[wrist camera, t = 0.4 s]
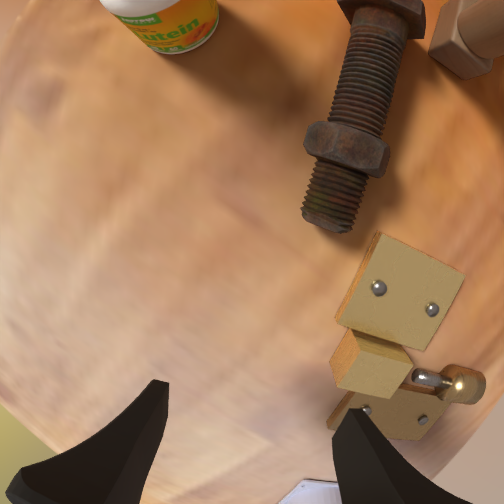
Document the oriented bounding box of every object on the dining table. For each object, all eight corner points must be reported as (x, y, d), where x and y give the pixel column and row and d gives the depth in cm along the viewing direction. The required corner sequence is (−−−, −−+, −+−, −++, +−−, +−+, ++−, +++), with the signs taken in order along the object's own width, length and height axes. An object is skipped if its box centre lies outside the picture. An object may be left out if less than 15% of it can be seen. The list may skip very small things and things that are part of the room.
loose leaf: (396, 379, 22) (408, 402, 19) (312, 356, 22) (318, 382, 19) (459, 271, 20) (481, 286, 17) (377, 230, 19) (395, 242, 16)
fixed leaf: (421, 434, 25) (431, 455, 22) (326, 421, 24) (331, 447, 21) (475, 365, 22) (491, 384, 19) (383, 337, 21) (398, 360, 18)
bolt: (304, 209, 21) (359, 18, 17) (373, 237, 19) (427, 32, 14) (262, 210, 16) (333, -29, 12) (353, 248, 14) (420, -18, 9)
